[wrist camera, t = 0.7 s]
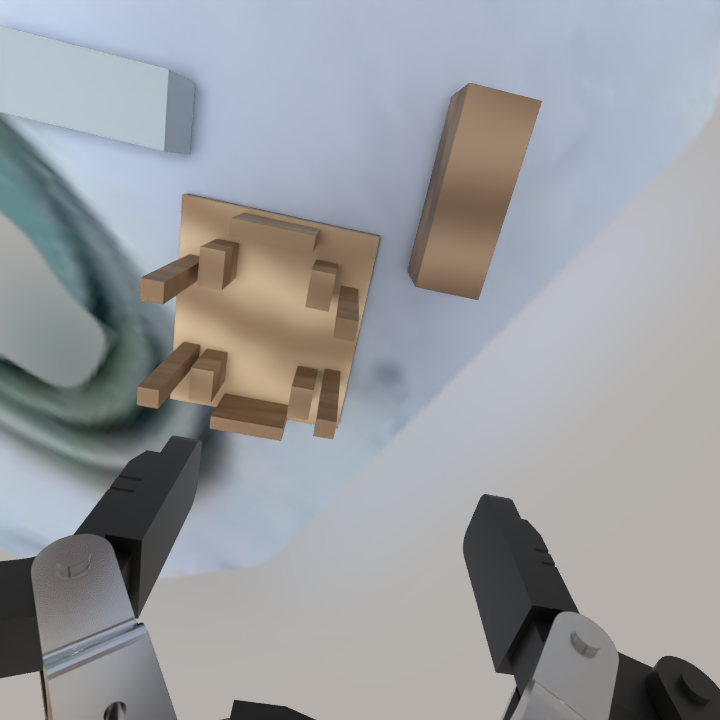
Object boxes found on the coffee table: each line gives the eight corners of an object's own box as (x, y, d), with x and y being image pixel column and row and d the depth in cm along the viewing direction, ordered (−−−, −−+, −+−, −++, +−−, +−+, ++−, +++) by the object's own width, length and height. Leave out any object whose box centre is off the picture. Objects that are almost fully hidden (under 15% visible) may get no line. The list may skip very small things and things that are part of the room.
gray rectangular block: (9, 36, 27) (-55, 11, 23) (196, 85, 28) (168, 69, 24) (13, 111, 28) (-47, 100, 24) (191, 154, 29) (163, 151, 25)
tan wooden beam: (450, 97, 28) (469, 82, 23) (511, 112, 28) (542, 101, 24) (407, 270, 32) (415, 286, 28) (460, 282, 33) (478, 300, 28)
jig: (187, 193, 30) (127, 201, 22) (379, 235, 31) (387, 256, 23) (175, 392, 35) (123, 455, 28) (337, 422, 37) (333, 490, 29)
